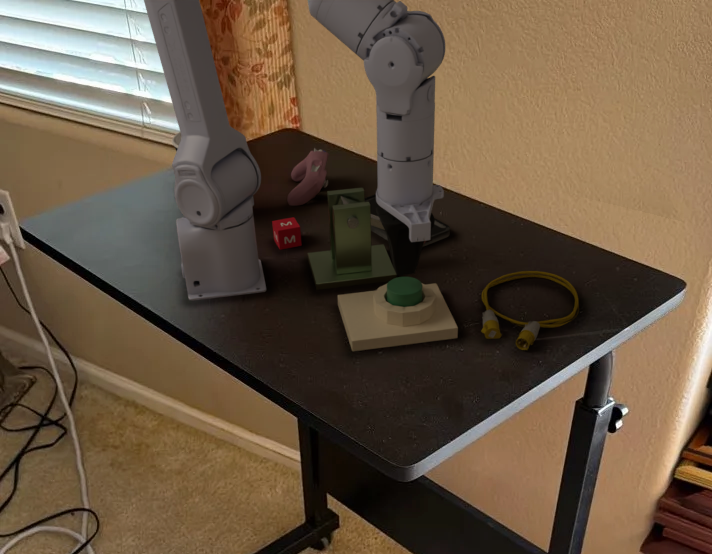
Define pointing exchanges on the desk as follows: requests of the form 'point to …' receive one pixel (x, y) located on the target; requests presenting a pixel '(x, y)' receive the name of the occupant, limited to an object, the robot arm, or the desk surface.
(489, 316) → the extension cord
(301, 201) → the video game controller
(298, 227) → the red letter cube
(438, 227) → the phone
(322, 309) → the desk surface
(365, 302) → the switch plate
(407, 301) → the button
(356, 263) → the switch bracket
